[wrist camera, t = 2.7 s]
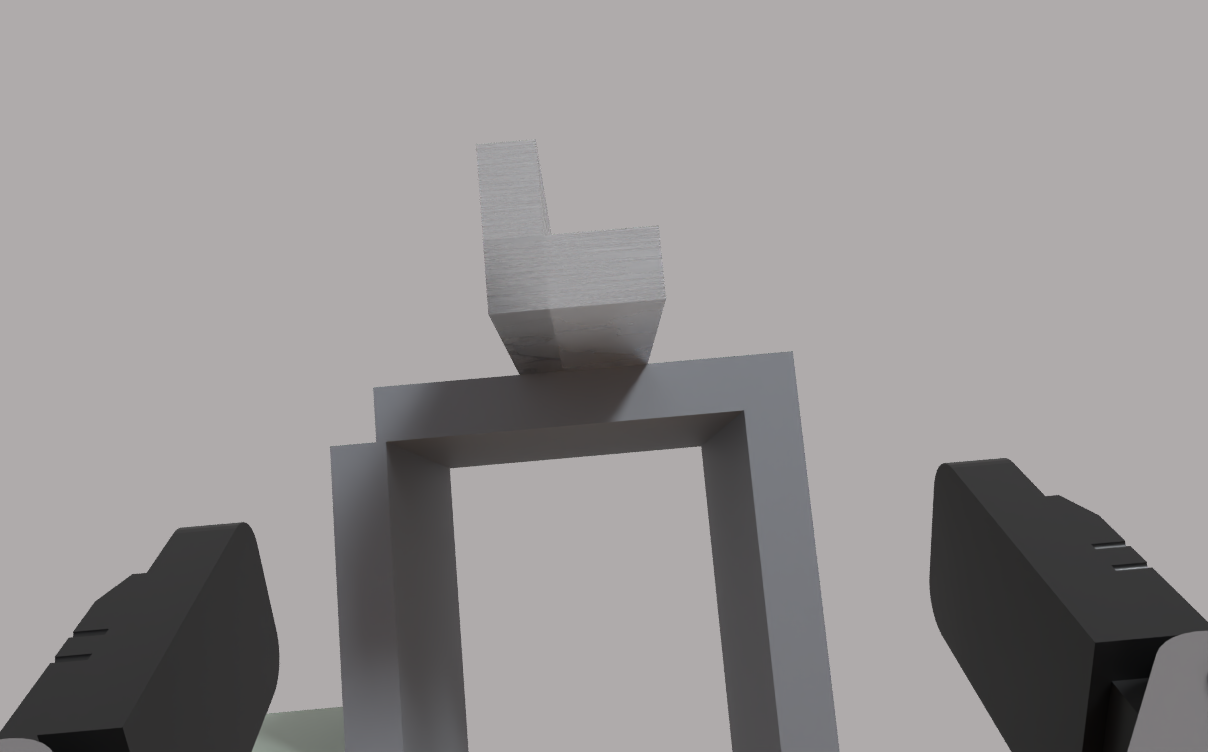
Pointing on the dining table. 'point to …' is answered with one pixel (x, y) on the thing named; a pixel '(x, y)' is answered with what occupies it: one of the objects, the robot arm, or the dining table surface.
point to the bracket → (562, 275)
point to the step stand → (553, 431)
